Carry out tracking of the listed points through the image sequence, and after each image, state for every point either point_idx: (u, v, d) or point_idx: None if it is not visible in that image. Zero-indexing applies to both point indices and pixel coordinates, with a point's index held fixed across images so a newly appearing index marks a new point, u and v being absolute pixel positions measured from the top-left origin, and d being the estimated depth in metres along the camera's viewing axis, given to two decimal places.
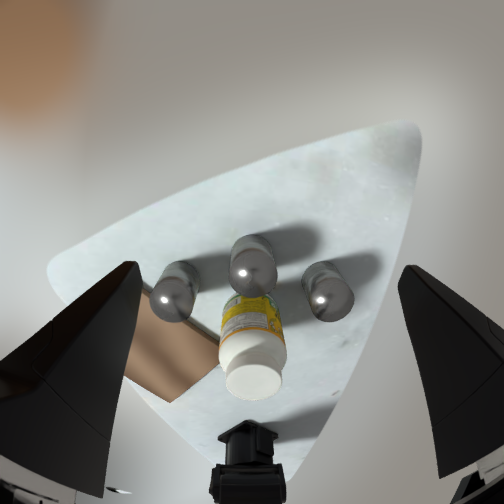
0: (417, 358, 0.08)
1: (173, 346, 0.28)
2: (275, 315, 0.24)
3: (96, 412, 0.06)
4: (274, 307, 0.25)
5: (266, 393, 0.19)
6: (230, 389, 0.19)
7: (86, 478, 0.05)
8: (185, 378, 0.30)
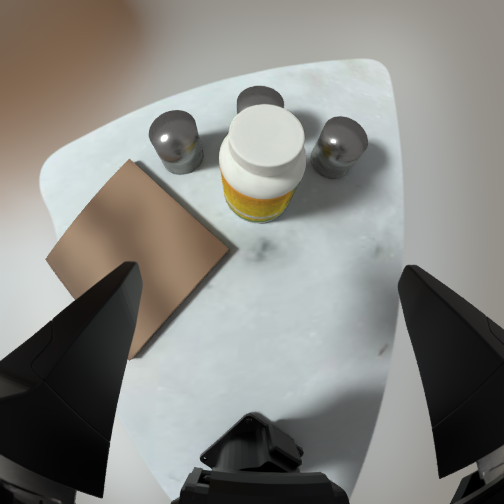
0: (417, 358, 0.08)
1: (154, 237, 0.22)
2: None
3: (96, 412, 0.06)
4: None
5: (285, 151, 0.14)
6: (234, 141, 0.14)
7: (86, 478, 0.05)
8: (159, 300, 0.21)
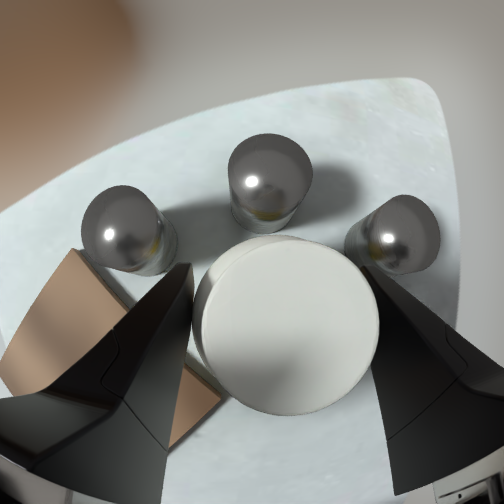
0: (371, 365, 0.08)
1: None
2: None
3: (160, 424, 0.06)
4: None
5: (336, 379, 0.06)
6: (215, 359, 0.06)
7: (150, 495, 0.05)
8: None
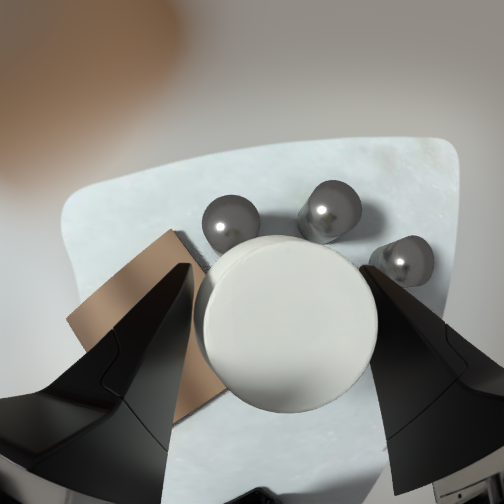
0: (371, 365, 0.08)
1: (193, 330, 0.20)
2: None
3: (160, 424, 0.06)
4: None
5: (334, 377, 0.06)
6: (217, 357, 0.06)
7: (150, 495, 0.05)
8: (191, 391, 0.20)
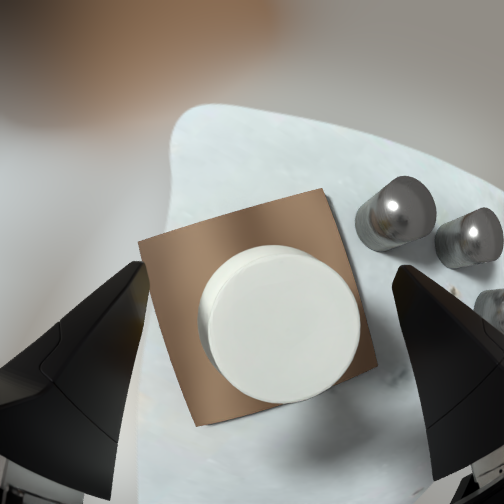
0: (411, 359, 0.08)
1: None
2: None
3: (104, 414, 0.06)
4: None
5: (322, 372, 0.07)
6: (219, 354, 0.07)
7: (94, 481, 0.05)
8: None
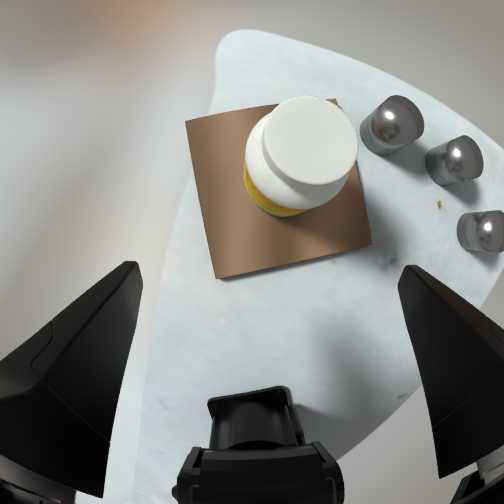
0: (417, 358, 0.08)
1: None
2: None
3: (96, 412, 0.06)
4: None
5: (334, 167, 0.11)
6: (270, 144, 0.11)
7: (86, 478, 0.05)
8: (288, 244, 0.21)
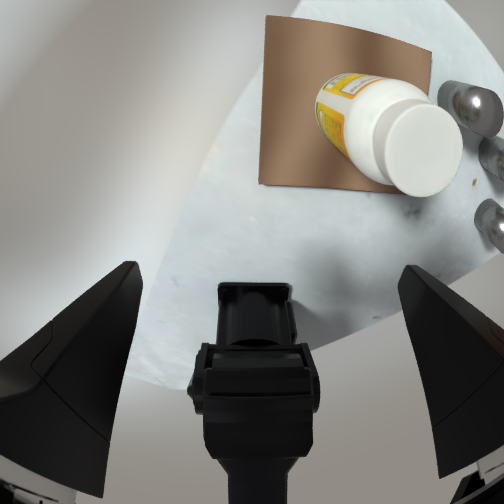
0: (417, 358, 0.08)
1: None
2: None
3: (96, 412, 0.06)
4: None
5: (430, 185, 0.10)
6: (390, 146, 0.09)
7: (86, 478, 0.05)
8: (337, 171, 0.20)
